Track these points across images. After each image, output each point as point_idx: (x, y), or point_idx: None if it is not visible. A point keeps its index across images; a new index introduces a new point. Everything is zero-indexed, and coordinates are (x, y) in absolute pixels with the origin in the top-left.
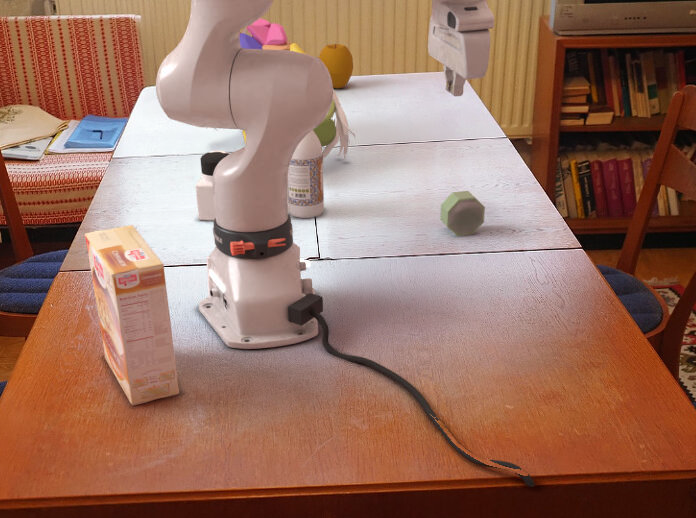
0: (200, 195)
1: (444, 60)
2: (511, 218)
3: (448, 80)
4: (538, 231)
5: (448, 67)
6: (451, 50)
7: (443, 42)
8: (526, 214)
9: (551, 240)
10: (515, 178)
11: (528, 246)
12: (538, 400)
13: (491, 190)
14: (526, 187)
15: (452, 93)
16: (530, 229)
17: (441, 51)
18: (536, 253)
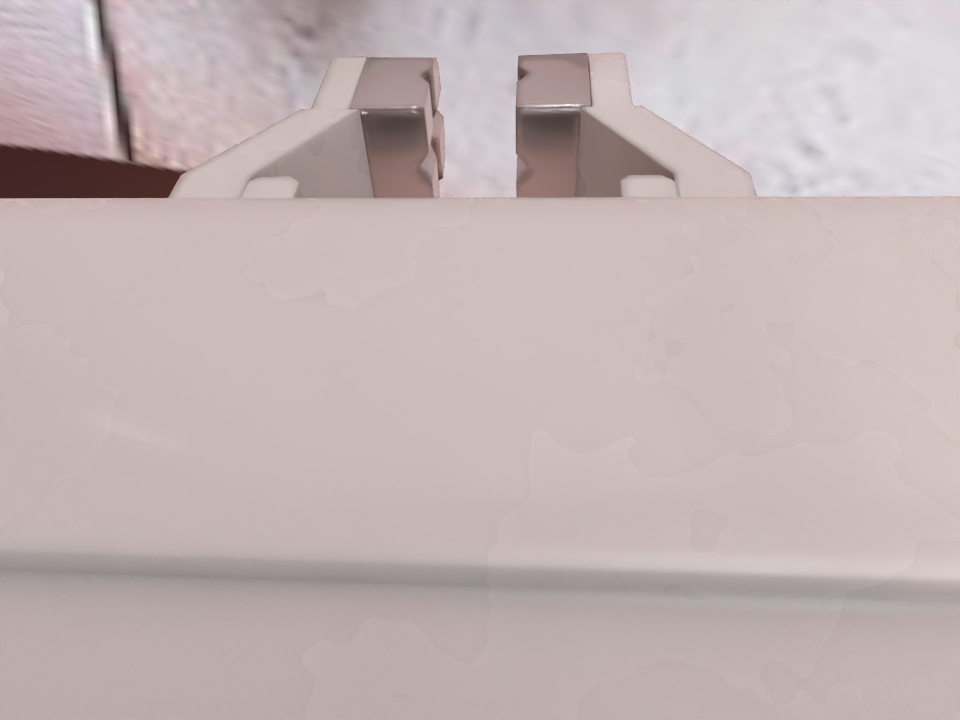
0: None
1: (502, 239)
2: (439, 72)
3: (588, 133)
4: None
5: (329, 198)
6: (18, 458)
7: (661, 542)
8: (466, 140)
9: (203, 126)
10: None
11: (143, 27)
12: None
13: (770, 111)
14: None
15: (362, 59)
16: (314, 98)
17: (734, 339)
18: (74, 30)
